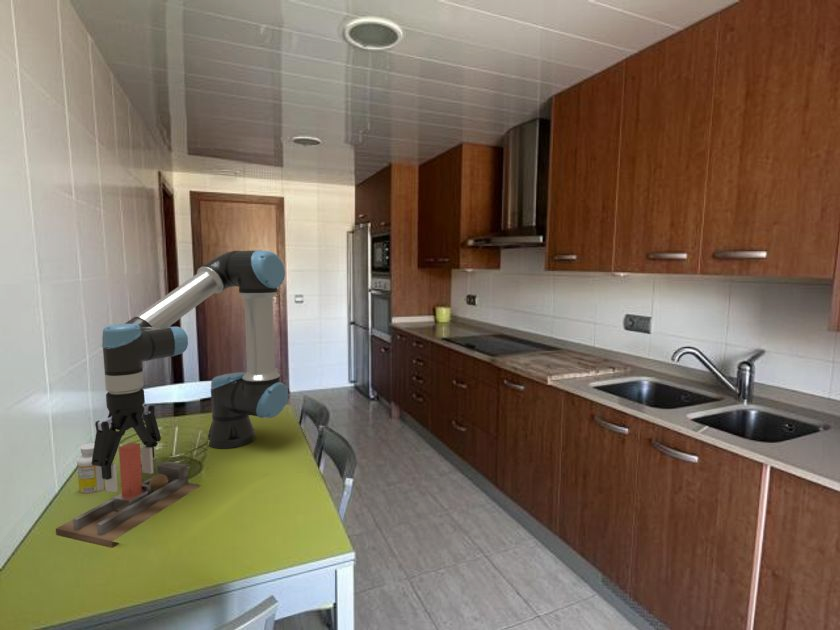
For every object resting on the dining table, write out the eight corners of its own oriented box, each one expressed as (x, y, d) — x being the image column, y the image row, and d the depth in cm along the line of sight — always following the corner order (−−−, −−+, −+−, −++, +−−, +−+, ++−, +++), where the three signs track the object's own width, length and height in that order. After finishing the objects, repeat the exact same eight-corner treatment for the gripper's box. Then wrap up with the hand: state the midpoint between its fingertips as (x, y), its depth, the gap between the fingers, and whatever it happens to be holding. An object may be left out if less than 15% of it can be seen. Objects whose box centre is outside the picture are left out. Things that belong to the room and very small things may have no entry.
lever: (135, 497, 113) (132, 439, 111) (151, 500, 112) (148, 442, 110) (113, 509, 107) (109, 449, 106) (130, 513, 106) (126, 451, 104)
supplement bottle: (104, 484, 124) (101, 438, 122) (114, 491, 120) (111, 444, 118) (75, 493, 118) (71, 446, 117) (85, 501, 114) (81, 452, 113)
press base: (154, 482, 125) (152, 459, 124) (202, 490, 121) (201, 467, 120) (56, 535, 100) (54, 507, 99) (112, 547, 96) (110, 518, 95)
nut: (159, 486, 120) (158, 470, 119) (172, 488, 118) (172, 472, 118) (145, 494, 115) (144, 477, 115) (159, 496, 114) (158, 480, 114)
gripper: (151, 378, 118) (155, 460, 120) (65, 401, 97) (72, 501, 99) (174, 380, 116) (178, 464, 118) (92, 404, 95) (99, 506, 97)
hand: (130, 481), depth 109 cm, fingers open, 9 cm apart
